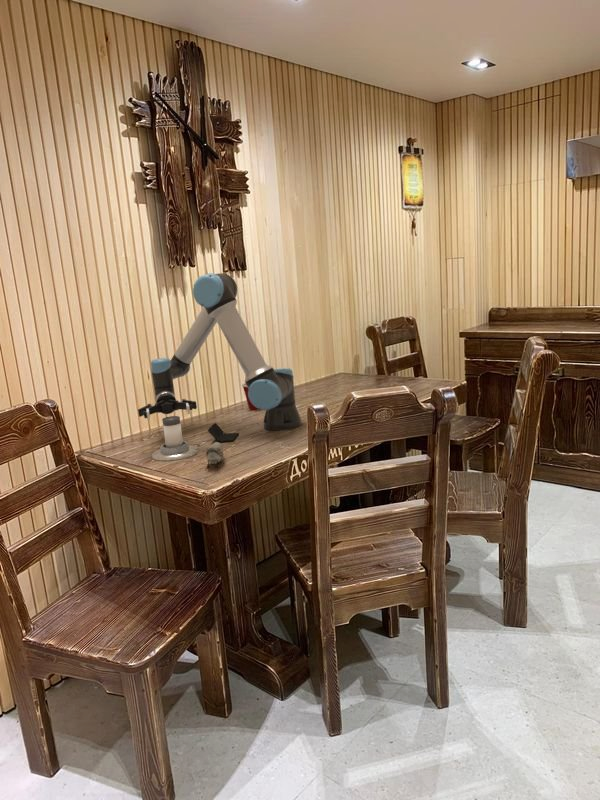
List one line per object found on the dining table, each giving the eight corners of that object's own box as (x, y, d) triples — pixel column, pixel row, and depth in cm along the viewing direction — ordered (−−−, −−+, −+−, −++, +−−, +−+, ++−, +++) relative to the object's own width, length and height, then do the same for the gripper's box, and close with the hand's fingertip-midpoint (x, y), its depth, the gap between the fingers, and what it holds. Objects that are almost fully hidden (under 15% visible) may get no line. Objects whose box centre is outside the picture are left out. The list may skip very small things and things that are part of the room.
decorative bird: (227, 456, 203) (224, 435, 201) (221, 471, 187) (218, 448, 185) (211, 457, 203) (208, 436, 201) (204, 472, 187) (201, 449, 185)
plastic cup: (264, 411, 269) (262, 385, 266) (241, 412, 271) (238, 386, 269) (270, 406, 279) (268, 380, 277) (248, 407, 282) (245, 382, 279)
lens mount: (207, 448, 214) (206, 439, 213) (180, 462, 200) (178, 452, 199) (171, 446, 221) (169, 437, 220) (142, 459, 207) (141, 450, 206)
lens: (187, 449, 212) (183, 416, 210) (177, 454, 207) (172, 420, 204) (173, 448, 214) (169, 415, 212) (163, 453, 209) (158, 420, 207)
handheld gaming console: (238, 437, 220) (219, 417, 220) (224, 450, 220) (205, 431, 220) (240, 434, 232) (222, 415, 231) (227, 447, 232) (209, 428, 231)
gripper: (200, 407, 229) (206, 418, 208) (133, 417, 223) (132, 429, 203) (198, 388, 227) (203, 397, 207) (130, 397, 221) (129, 407, 201)
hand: (168, 413), depth 205 cm, fingers open, 13 cm apart
